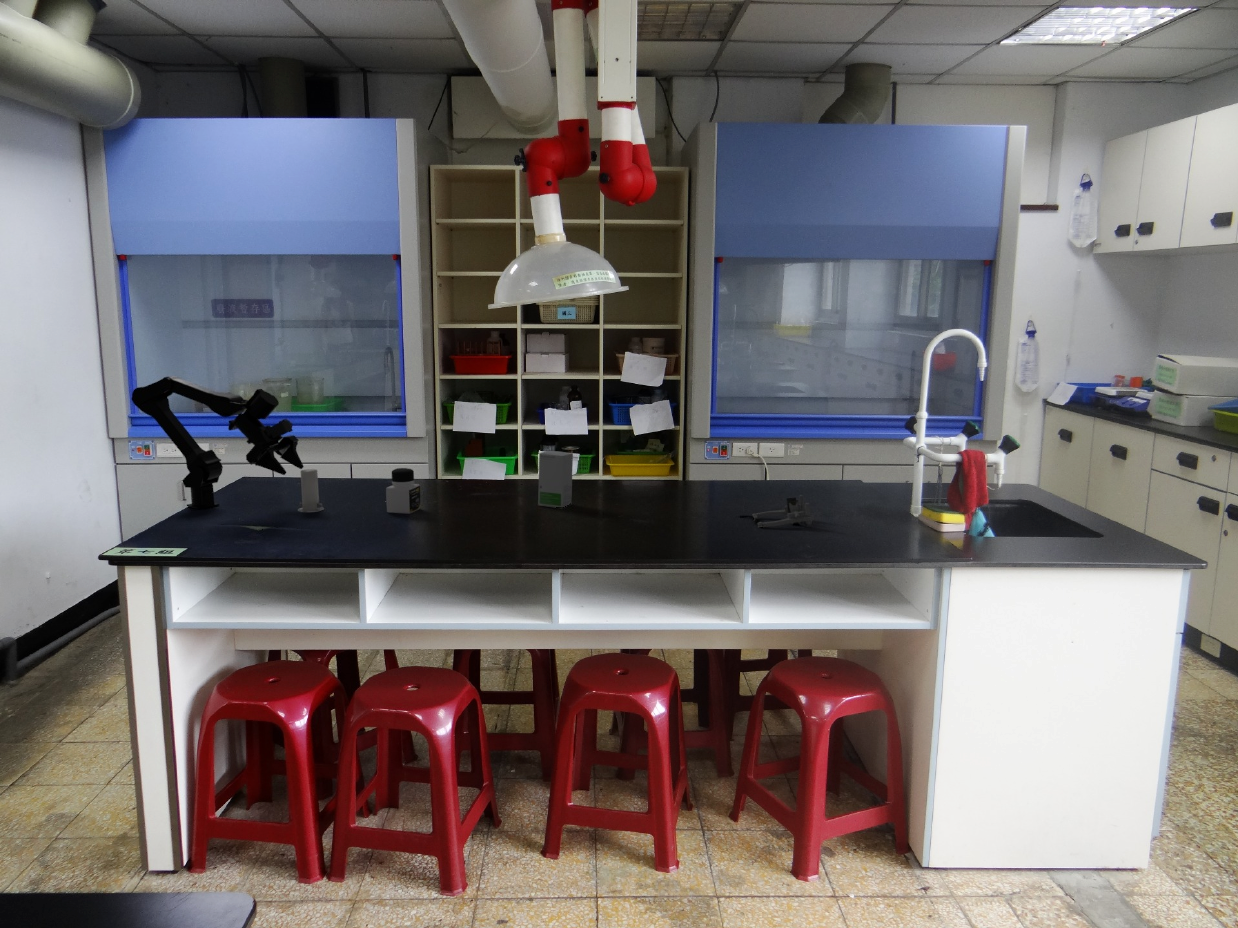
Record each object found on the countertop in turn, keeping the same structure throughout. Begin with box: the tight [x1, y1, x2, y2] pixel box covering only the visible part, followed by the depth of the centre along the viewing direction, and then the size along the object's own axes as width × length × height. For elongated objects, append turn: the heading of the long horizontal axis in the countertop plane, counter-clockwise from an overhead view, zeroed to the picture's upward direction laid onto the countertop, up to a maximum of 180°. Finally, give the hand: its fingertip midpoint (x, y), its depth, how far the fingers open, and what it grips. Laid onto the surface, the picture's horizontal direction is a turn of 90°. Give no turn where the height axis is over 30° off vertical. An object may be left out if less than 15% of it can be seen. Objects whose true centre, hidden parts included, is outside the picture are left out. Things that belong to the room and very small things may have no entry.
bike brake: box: [741, 494, 815, 528], centre depth 236 cm, size 14×7×20 cm
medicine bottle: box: [385, 467, 421, 515], centre depth 246 cm, size 7×7×12 cm
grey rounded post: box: [298, 468, 323, 511], centre depth 244 cm, size 6×4×11 cm
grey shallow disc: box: [297, 506, 325, 513], centre depth 245 cm, size 7×7×1 cm
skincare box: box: [537, 450, 574, 508], centre depth 254 cm, size 8×7×16 cm
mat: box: [233, 523, 276, 531], centre depth 231 cm, size 12×12×1 cm
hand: (294, 470), depth 244 cm, fingers open, 9 cm apart
